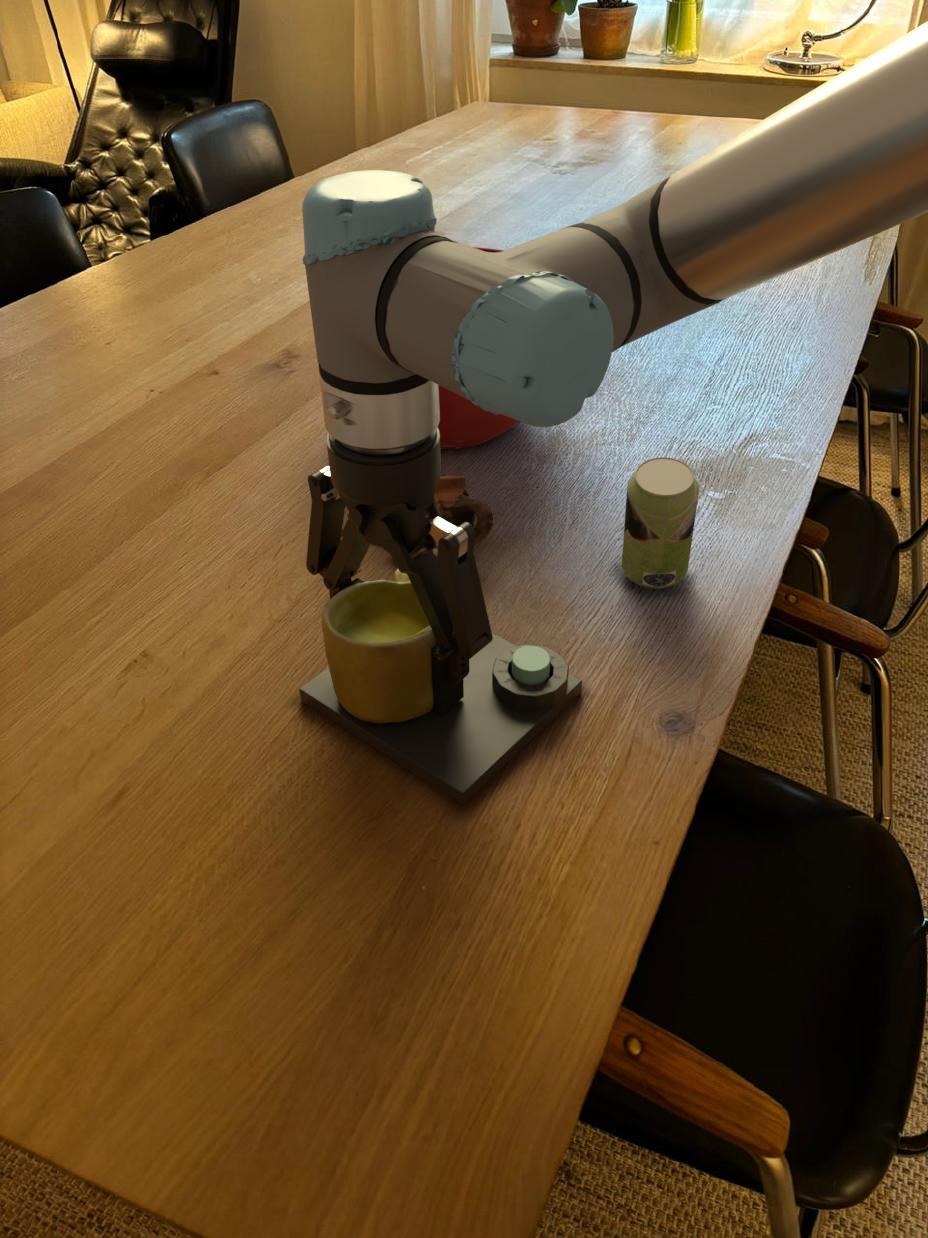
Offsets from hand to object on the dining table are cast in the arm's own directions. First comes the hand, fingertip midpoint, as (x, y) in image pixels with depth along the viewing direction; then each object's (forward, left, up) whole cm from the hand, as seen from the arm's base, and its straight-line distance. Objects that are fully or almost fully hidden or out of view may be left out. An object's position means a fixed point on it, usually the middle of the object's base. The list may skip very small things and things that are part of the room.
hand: (400, 675), depth 80 cm
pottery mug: (+11, -17, -2) cm, 21 cm away
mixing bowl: (+26, -36, -2) cm, 45 cm away
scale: (-3, -1, -2) cm, 4 cm away
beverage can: (-8, -25, -2) cm, 27 cm away
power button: (-9, -6, +1) cm, 10 cm away
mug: (0, 0, 0) cm, 1 cm away
